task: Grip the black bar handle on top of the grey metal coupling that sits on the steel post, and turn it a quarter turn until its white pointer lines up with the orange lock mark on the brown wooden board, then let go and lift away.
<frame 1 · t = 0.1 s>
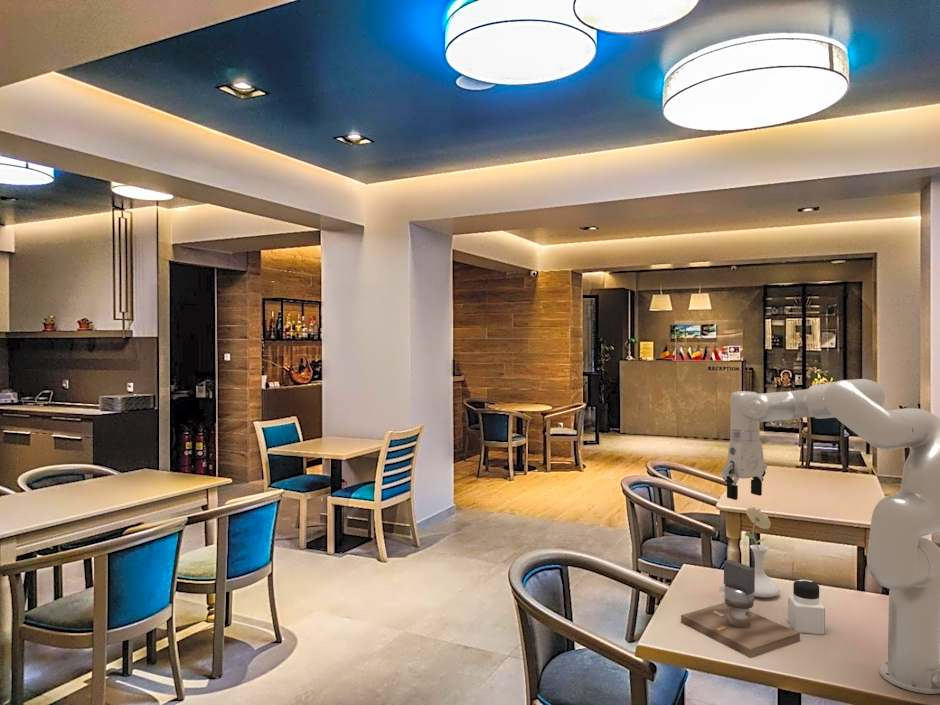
hand: (744, 496, 186), 31 cm above the table, tool pointing down, fingers open, 9 cm apart
coupling: (735, 582, 172), point 12 cm above the table, hinge at 0.0°
medicine bottle: (805, 628, 174), on the table
flower in vase: (757, 593, 197), on the table
brown wooden board: (738, 631, 172), on the table
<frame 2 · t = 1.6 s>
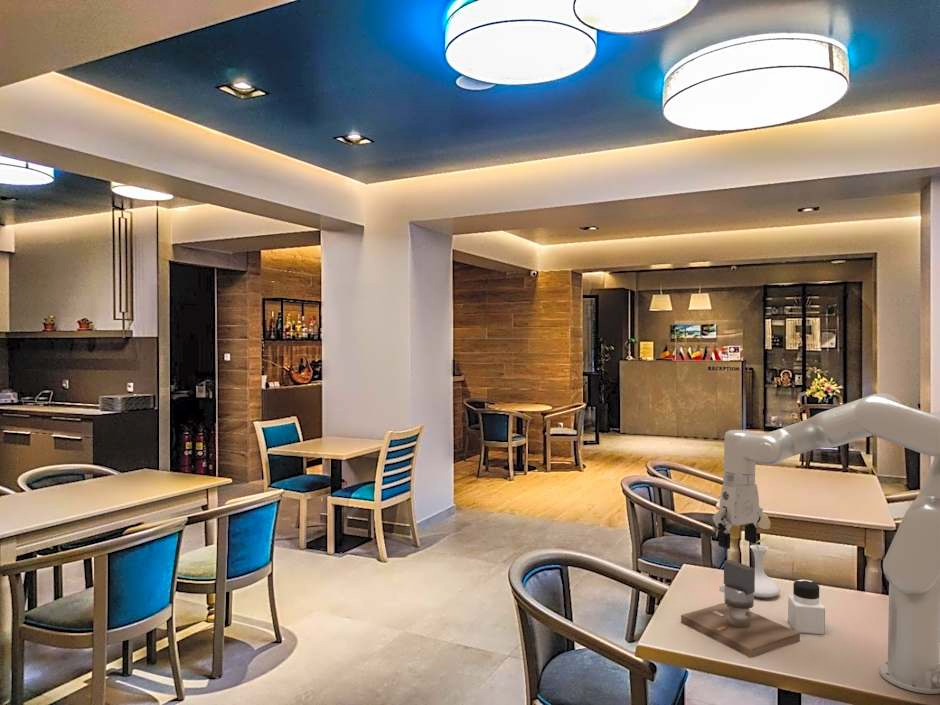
hand: (737, 544, 171), 22 cm above the table, tool pointing down, fingers open, 9 cm apart
nothing on the table moved.
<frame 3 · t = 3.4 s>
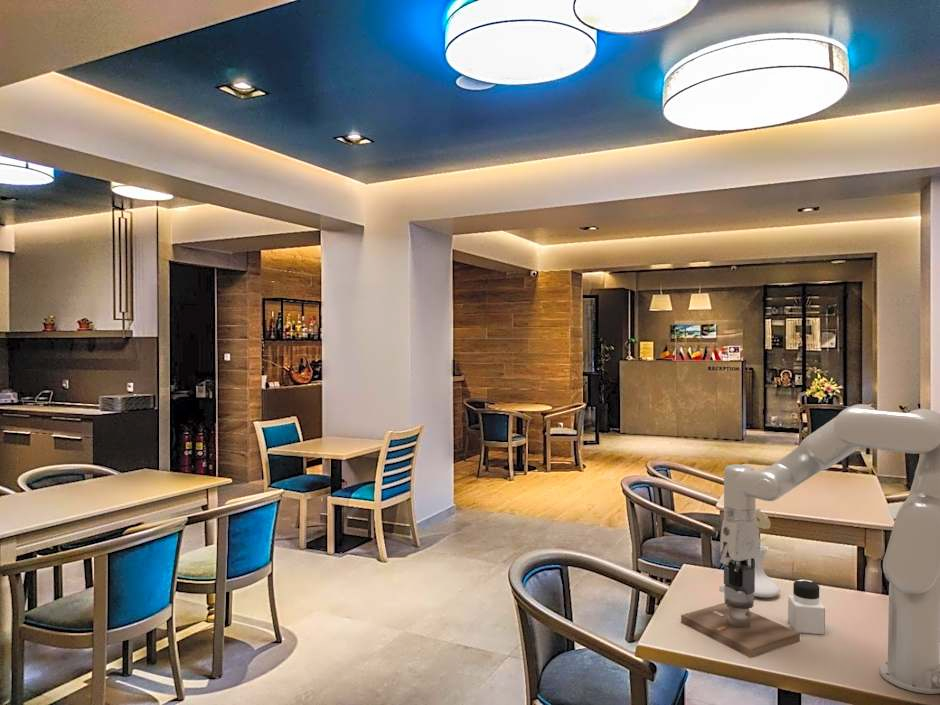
hand: (738, 583, 171), 12 cm above the table, tool pointing down, fingers closed on coupling, 2 cm apart
coupling: (735, 582, 172), point 12 cm above the table, hinge at 0.0°, touching gripper
everything else where it was.
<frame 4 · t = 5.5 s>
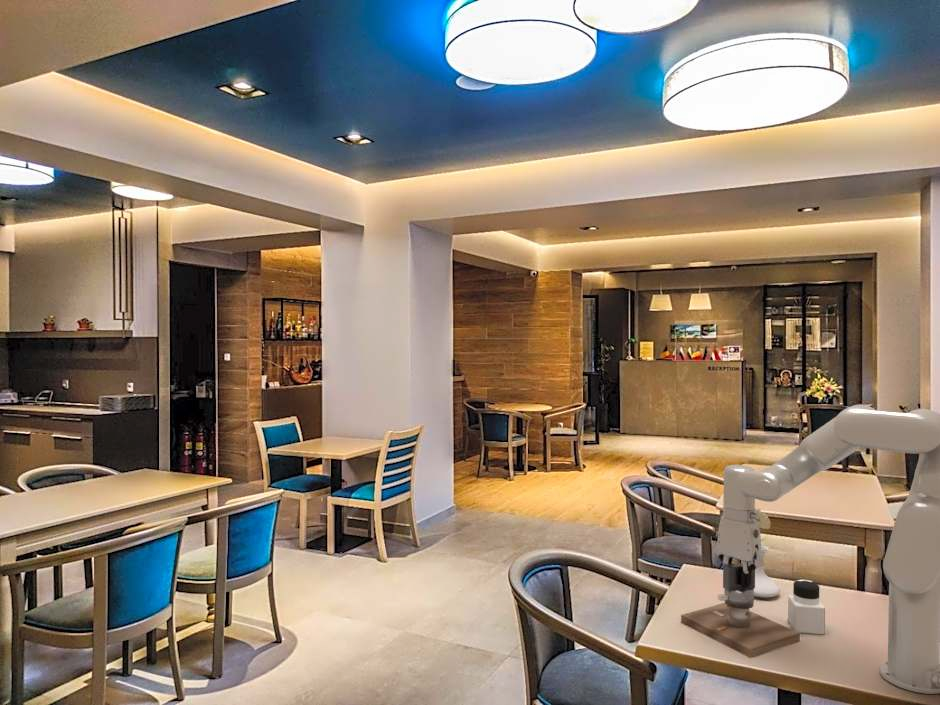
hand: (737, 583, 171), 12 cm above the table, tool pointing down, fingers closed on coupling, 3 cm apart
coupling: (735, 584, 171), point 12 cm above the table, hinge at 74.5°, touching gripper
everything else where it was.
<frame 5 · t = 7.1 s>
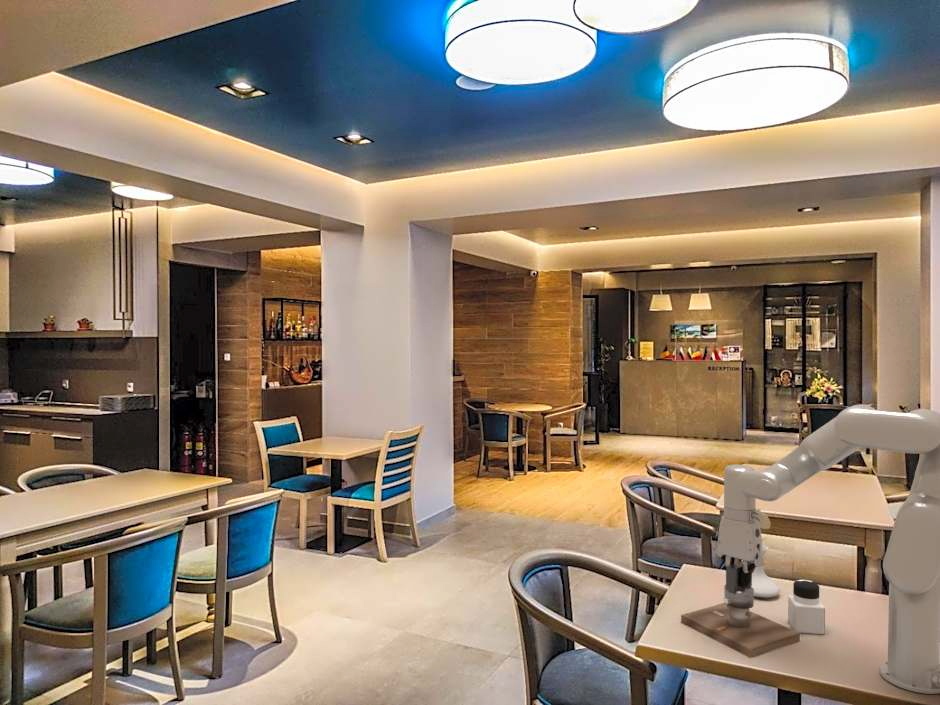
hand: (738, 583, 171), 12 cm above the table, tool pointing down, fingers closed on coupling, 2 cm apart
coupling: (736, 584, 171), point 12 cm above the table, hinge at 96.8°, touching gripper
everything else where it was.
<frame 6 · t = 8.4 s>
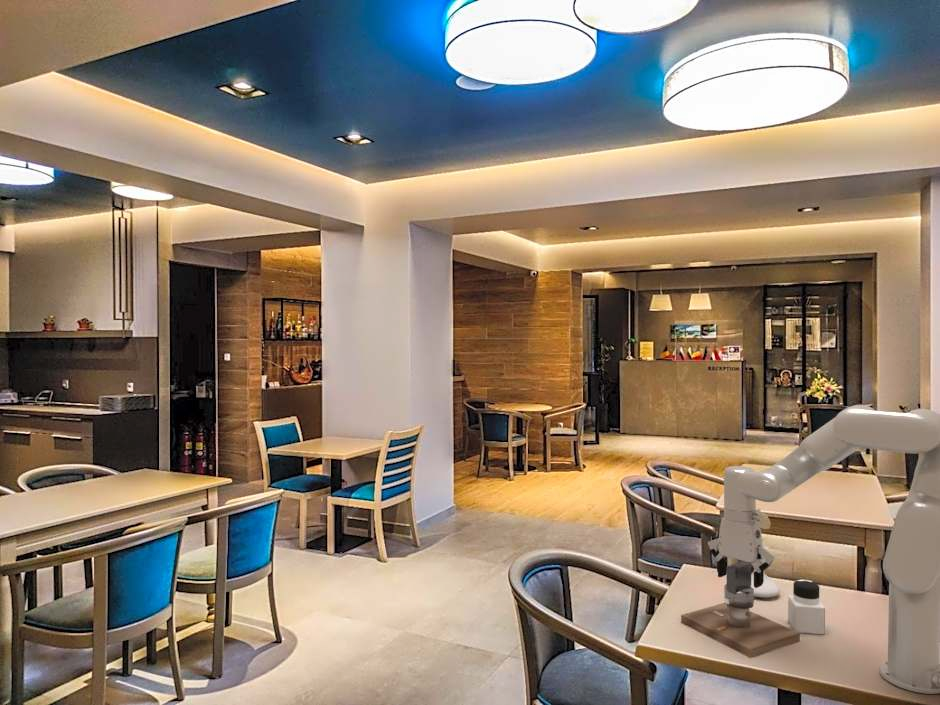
hand: (739, 581, 171), 13 cm above the table, tool pointing down, fingers open, 9 cm apart
coupling: (736, 584, 171), point 12 cm above the table, hinge at 99.5°
everything else where it was.
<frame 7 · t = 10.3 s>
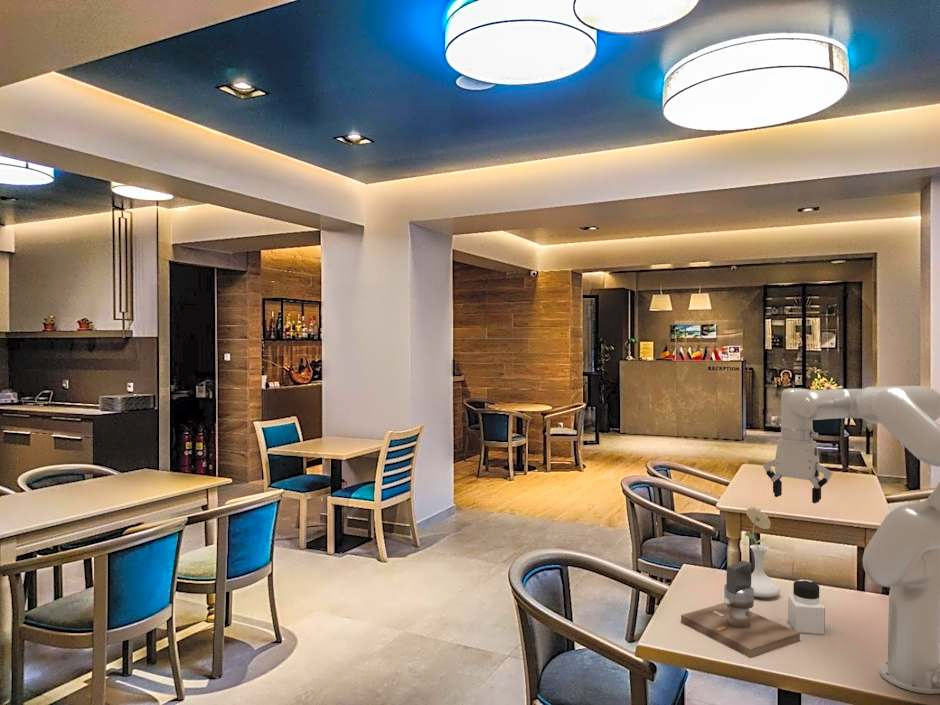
hand: (796, 499, 177), 33 cm above the table, tool pointing down, fingers open, 9 cm apart
nothing on the table moved.
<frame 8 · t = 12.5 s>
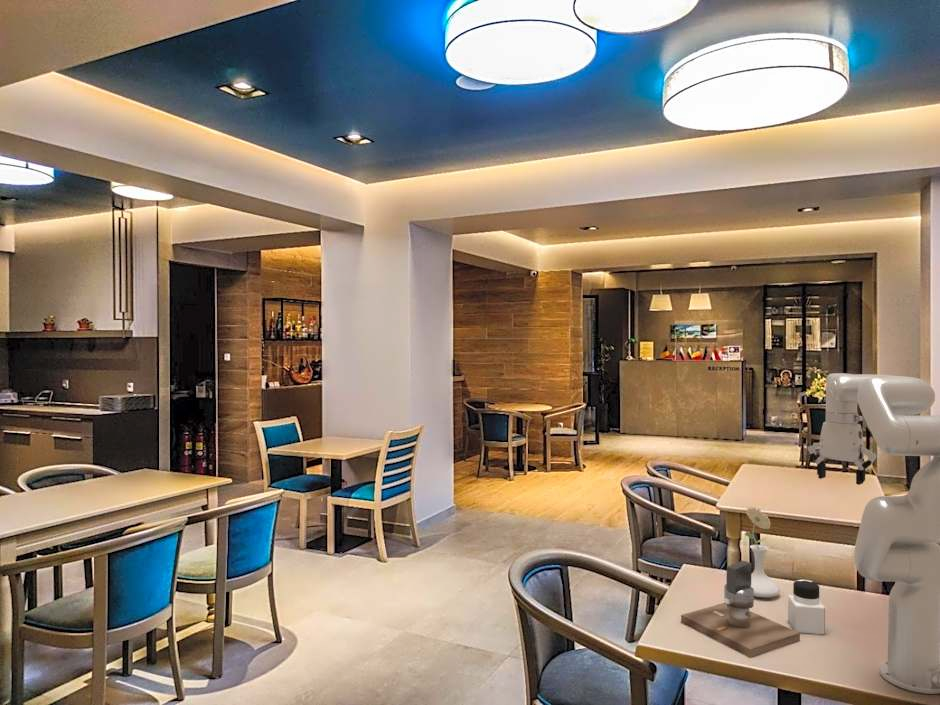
hand: (840, 480, 182), 36 cm above the table, tool pointing down, fingers open, 9 cm apart
nothing on the table moved.
at the end: coupling at +100° (first picture: +0°); the gripper is holding nothing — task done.
